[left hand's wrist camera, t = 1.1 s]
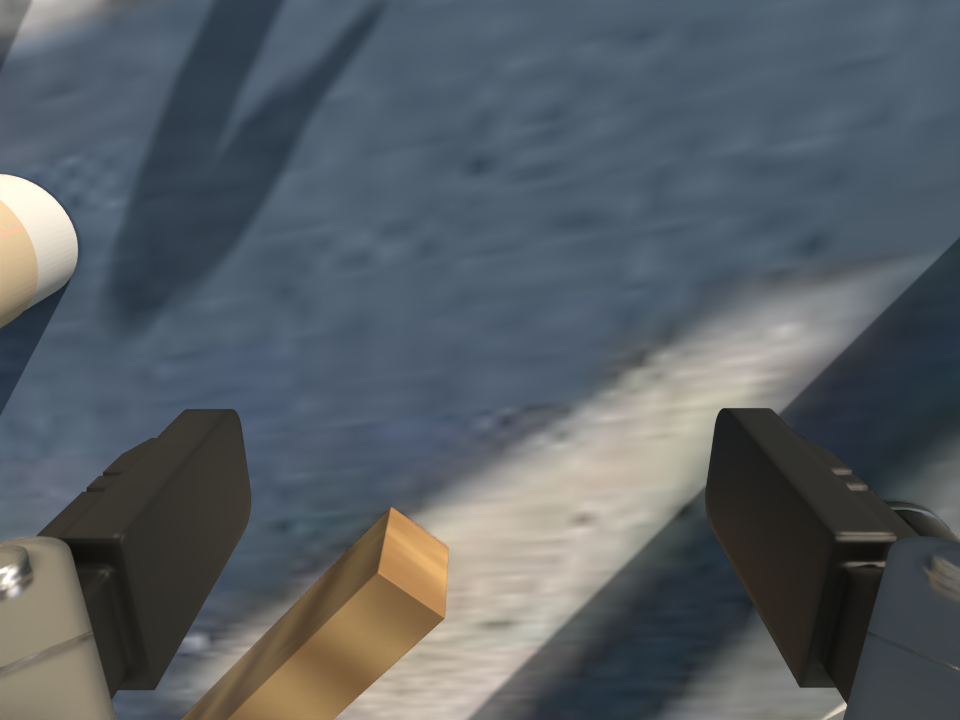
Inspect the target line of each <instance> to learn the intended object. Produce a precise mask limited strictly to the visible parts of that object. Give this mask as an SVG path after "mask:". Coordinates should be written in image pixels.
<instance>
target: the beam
mask: <svg viewBox="0 0 960 720" xmlns="http://www.w3.org/2000/svg"><path fill="white" fill-rule="evenodd" d="M448 554H449V548H448V547H447V546H445V545H444V544H443V543H441V542H440V541H438V540H437V539H436V538H434V537H433V536H431V535H430V534H429V533H427V532H426V531H425V530H423V529H422V528H420V527H419V526H418V525H416V524H415V523H413V522H412V521H411V520H409V519H408V518H406V517H405V516H404V515H402V514H401V513H400V512H398V511H397V510H395V509H394V508H393V507H391V508H390V509H389V510H388V511H387V512H386V513H385V514H384V515H383V516H382V517H381V518H380V519H379V520H378V521H377V522H376V523H375V524H374V525H373V526H372V527H371V528H370V529H369V530H368V531H367V532H366V533H365V534H364V535H363V536H362V537H361V538H360V539H359V540H358V541H357V542H356V543H355V544H354V545H353V546H352V547H351V548H350V549H349V550H348V551H347V552H346V553H345V554H344V555H343V556H342V557H341V558H340V559H339V560H338V561H337V562H336V563H335V564H334V565H333V566H332V567H331V568H330V569H329V570H328V571H327V572H326V573H325V574H324V575H323V576H322V577H321V578H320V579H319V580H318V581H317V582H316V583H315V584H314V585H313V586H312V587H311V588H310V589H309V590H308V591H307V592H306V593H305V594H304V595H303V596H302V597H301V598H300V599H299V600H298V601H297V602H296V603H295V604H294V605H293V606H292V607H291V608H290V610H289V611H288V612H287V613H286V614H285V615H284V616H283V617H282V618H281V619H280V620H279V621H278V622H277V623H276V624H275V625H274V626H273V627H272V628H271V629H270V630H269V631H268V632H267V633H266V634H265V635H264V636H263V637H262V638H261V639H260V640H259V641H258V642H257V643H256V644H255V645H254V646H253V647H252V648H251V649H250V650H249V651H248V652H247V653H246V654H245V655H244V656H243V657H242V658H241V659H240V660H239V661H238V662H237V663H236V664H235V665H234V666H233V667H232V668H231V669H230V670H229V671H228V672H227V673H226V674H225V675H224V676H223V677H222V678H221V679H220V680H219V681H218V682H217V683H216V684H215V685H214V686H213V687H212V688H211V689H210V690H209V691H208V692H207V693H206V694H205V695H204V696H203V697H202V698H201V699H200V700H199V701H198V702H197V703H196V704H195V705H194V706H193V707H192V708H191V709H190V710H189V711H188V712H187V713H186V714H185V715H184V716H183V717H182V719H181V720H333V719H334V718H335V717H336V716H337V715H338V714H339V713H341V712H342V711H343V710H344V709H345V708H346V707H347V706H348V705H349V704H351V703H352V702H353V701H354V700H355V699H356V698H357V697H358V696H359V695H360V694H362V693H363V692H364V691H365V690H366V689H367V688H368V687H369V686H370V685H372V684H373V683H374V682H375V681H376V680H377V679H378V678H379V677H380V676H381V675H383V674H384V673H385V672H386V671H387V670H388V669H389V668H390V667H391V666H392V665H394V664H395V663H396V662H397V661H398V660H399V659H400V658H401V657H402V656H404V655H405V654H406V653H407V652H408V651H409V650H410V649H411V648H412V647H413V646H415V645H416V644H417V643H418V642H419V641H420V640H421V639H422V638H423V637H425V636H426V635H427V634H428V633H429V632H430V631H431V630H432V629H433V628H434V627H436V626H437V625H438V624H439V623H440V622H441V621H442V620H443V619H444V618H445V610H446V591H447V573H448Z"/></svg>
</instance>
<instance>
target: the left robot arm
mask: <svg viewBox="0 0 960 720" xmlns="http://www.w3.org/2000/svg"><path fill="white" fill-rule="evenodd" d="M705 503H706V512H707V517H708V521H709V524H710V527H711V529H712V531H713V532H714V534H715V536H716V538H717V540H718V541H719V543H720V545H721V547H722V549H723V550H724V552H725V554H726V556H727V558H728V559H729V561H730V563H731V565H732V567H733V568H734V570H735V572H736V574H737V575H738V577H739V579H740V581H741V583H742V584H743V586H744V588H745V590H746V592H747V593H748V595H749V597H750V599H751V601H752V602H753V604H754V606H755V608H756V610H757V611H758V613H759V615H760V617H761V619H762V620H763V622H764V624H765V626H766V628H767V629H768V631H769V633H770V635H771V636H772V638H773V640H774V642H775V644H776V645H777V647H778V649H779V651H780V653H781V654H782V656H783V658H784V660H785V662H786V663H787V665H788V667H789V669H790V671H791V672H792V674H793V676H794V678H795V680H796V681H797V683H798V685H799V687H800V688H837V689H838V691H839V692H840V694H841V696H842V697H843V699H844V700H845V702H846V704H847V708H846V711H845V715H844V719H843V720H960V539H959V538H958V537H957V536H956V535H955V534H954V533H953V532H951V530H950V529H949V528H948V526H947V525H946V524H945V523H944V522H943V521H941V520H940V519H939V518H938V517H937V516H936V515H935V514H933V513H932V512H930V511H929V510H927V509H925V508H922V507H920V506H917V505H913V504H908V503H885V502H884V501H883V500H882V499H881V498H880V497H879V496H878V495H877V494H876V493H875V492H874V491H873V490H868V486H867V485H866V484H865V483H864V482H863V481H862V480H861V479H860V478H859V477H858V476H857V475H853V474H852V470H851V469H850V468H849V467H848V466H846V465H845V464H844V463H843V462H842V461H841V460H840V459H839V458H838V457H837V456H836V455H835V454H834V453H833V452H831V451H829V450H827V449H825V448H824V447H822V446H820V445H818V444H816V443H814V442H812V441H811V440H809V439H807V438H805V437H799V436H798V435H797V434H796V433H795V432H794V431H793V430H792V429H791V428H790V427H789V426H788V425H787V424H786V423H785V422H784V421H783V420H782V419H781V418H780V417H779V416H778V415H777V414H776V413H775V412H774V411H773V410H772V409H769V408H723V409H722V410H721V411H720V412H719V413H718V416H717V419H716V423H715V429H714V436H713V443H712V450H711V457H710V464H709V471H708V478H707V485H706V494H705ZM250 510H251V489H250V482H249V475H248V469H247V462H246V455H245V448H244V441H243V434H242V427H241V422H240V418H239V416H238V414H237V412H236V411H235V410H233V409H187V410H184V411H183V412H182V413H181V414H180V415H179V416H178V417H177V418H176V419H175V420H174V421H173V422H172V423H171V424H170V425H169V426H168V427H167V428H166V429H165V430H164V431H163V432H162V433H161V434H160V435H159V436H158V437H157V438H151V439H149V440H147V441H145V442H144V443H142V444H140V445H138V446H136V447H134V448H132V449H131V450H129V451H127V452H125V453H123V454H122V455H121V456H120V457H119V458H118V459H117V460H115V461H114V462H113V463H112V464H111V465H110V466H109V467H108V468H107V469H106V470H105V471H104V472H103V476H99V477H98V478H97V479H95V480H94V481H93V482H92V483H91V484H90V485H89V486H88V487H87V491H86V492H82V493H81V494H80V495H79V496H78V497H77V498H76V499H74V500H73V501H72V502H71V503H70V504H69V505H68V506H67V507H66V508H65V509H64V510H63V511H62V512H61V513H60V514H59V515H58V516H57V517H56V518H55V519H53V520H52V521H51V522H50V523H49V524H48V525H47V526H46V527H45V528H44V529H43V530H42V531H41V532H40V533H39V534H38V535H37V536H35V537H24V538H18V539H13V540H8V541H4V542H1V543H0V720H117V719H116V715H115V711H114V708H113V704H112V698H113V697H114V695H115V694H116V692H117V690H155V689H156V687H157V685H158V683H159V682H160V680H161V678H162V676H163V674H164V673H165V671H166V669H167V667H168V666H169V664H170V662H171V660H172V658H173V657H174V655H175V653H176V651H177V650H178V648H179V646H180V644H181V643H182V641H183V639H184V637H185V635H186V634H187V632H188V630H189V628H190V627H191V625H192V623H193V621H194V620H195V618H196V616H197V614H198V612H199V611H200V609H201V607H202V605H203V604H204V602H205V600H206V598H207V596H208V595H209V593H210V591H211V589H212V588H213V586H214V584H215V582H216V581H217V579H218V577H219V575H220V573H221V572H222V570H223V568H224V566H225V565H226V563H227V561H228V559H229V557H230V556H231V554H232V552H233V550H234V549H235V547H236V545H237V543H238V542H239V540H240V538H241V536H242V534H243V533H244V531H245V529H246V526H247V524H248V520H249V516H250Z"/></svg>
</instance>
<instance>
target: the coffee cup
mask: <svg viewBox="0 0 960 720" xmlns="http://www.w3.org/2000/svg"><path fill="white" fill-rule="evenodd" d="M77 257H78V244H77V238H76V234H75V231H74V228H73V225H72V223H71V221H70V219H69V217H68V216H67V214H66V212H65V211H64V210H63V208H62V207H61V206H60V205H59V203H58V202H57V201H56V200H55V199H54V198H53V197H52V196H51V195H50V194H48V193H47V192H46V191H44V190H43V189H42V188H40V187H39V186H37V185H35V184H33V183H31V182H29V181H27V180H25V179H22V178H19V177H15V176H11V175H3V174H0V328H1V327H3V326H5V325H6V324H8V323H9V322H11V321H12V320H14V319H15V318H17V317H18V316H19V315H20V314H21V313H22V312H23V311H25V310H26V309H28V308H30V307H31V306H33V305H35V304H36V303H38V302H40V301H41V300H43V299H45V298H46V297H48V296H49V295H51V294H53V293H54V292H56V291H58V290H59V289H60V288H62V287H63V286H64V285H65V284H66V283H67V281H68V280H69V279H70V277H71V276H72V274H73V272H74V269H75V267H76V263H77Z"/></svg>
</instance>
